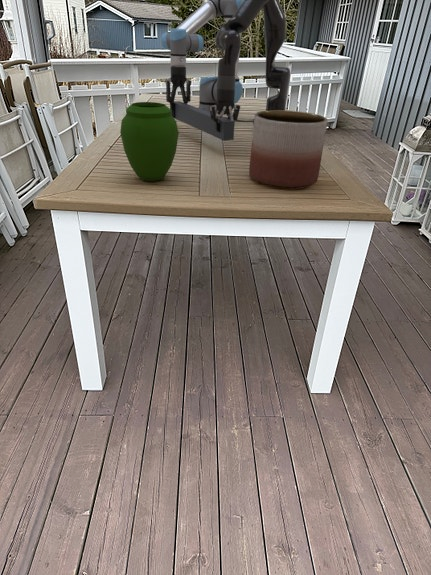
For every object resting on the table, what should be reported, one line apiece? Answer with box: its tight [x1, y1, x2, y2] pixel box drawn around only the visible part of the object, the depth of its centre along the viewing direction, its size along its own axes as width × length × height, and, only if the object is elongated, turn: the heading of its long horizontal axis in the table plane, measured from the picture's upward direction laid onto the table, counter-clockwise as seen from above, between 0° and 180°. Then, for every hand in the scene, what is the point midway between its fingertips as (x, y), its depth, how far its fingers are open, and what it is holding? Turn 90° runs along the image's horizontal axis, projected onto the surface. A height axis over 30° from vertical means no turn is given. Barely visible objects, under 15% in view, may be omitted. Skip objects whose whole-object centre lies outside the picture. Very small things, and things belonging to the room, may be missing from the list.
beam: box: [171, 100, 236, 142], centre depth 192 cm, size 56×5×7 cm, turn 28°
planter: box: [248, 109, 329, 190], centre depth 146 cm, size 25×25×22 cm
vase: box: [119, 101, 179, 182], centre depth 140 cm, size 20×20×24 cm
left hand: (178, 116), depth 211 cm, fingers closed on beam, 5 cm apart
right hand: (223, 131), depth 175 cm, fingers closed on beam, 5 cm apart
